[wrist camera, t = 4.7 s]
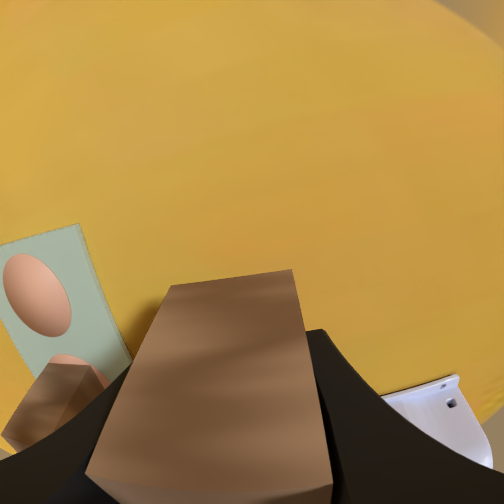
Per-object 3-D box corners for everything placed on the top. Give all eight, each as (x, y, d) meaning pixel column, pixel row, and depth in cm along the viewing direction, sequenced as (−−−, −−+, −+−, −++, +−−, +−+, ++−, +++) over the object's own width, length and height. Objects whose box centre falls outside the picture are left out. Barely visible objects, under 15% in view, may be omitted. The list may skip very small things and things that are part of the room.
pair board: (79, 223, 13) (73, 226, 13) (163, 416, 18) (161, 422, 18) (-23, 252, 14) (-28, 255, 13) (59, 406, 19) (57, 410, 19)
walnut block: (291, 269, 10) (332, 483, 3) (301, 361, 11) (325, 535, 5) (170, 285, 10) (84, 473, 4) (200, 372, 11) (168, 536, 5)
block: (90, 364, 16) (43, 450, 10) (116, 406, 18) (84, 487, 11) (48, 362, 16) (0, 434, 10) (74, 402, 18) (38, 472, 11)
